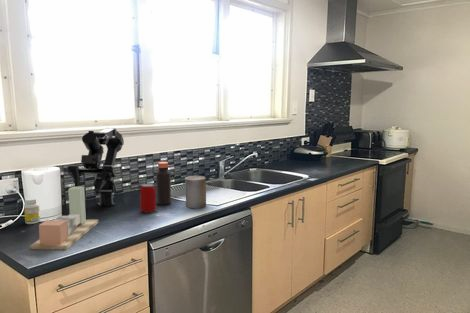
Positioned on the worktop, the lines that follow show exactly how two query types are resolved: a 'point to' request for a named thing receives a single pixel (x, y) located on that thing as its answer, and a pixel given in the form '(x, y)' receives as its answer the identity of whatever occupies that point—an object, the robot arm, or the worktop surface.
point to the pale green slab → (77, 204)
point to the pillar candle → (195, 191)
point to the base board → (72, 231)
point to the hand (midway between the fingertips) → (87, 189)
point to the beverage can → (147, 198)
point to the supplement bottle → (31, 211)
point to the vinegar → (163, 184)
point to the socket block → (53, 232)
